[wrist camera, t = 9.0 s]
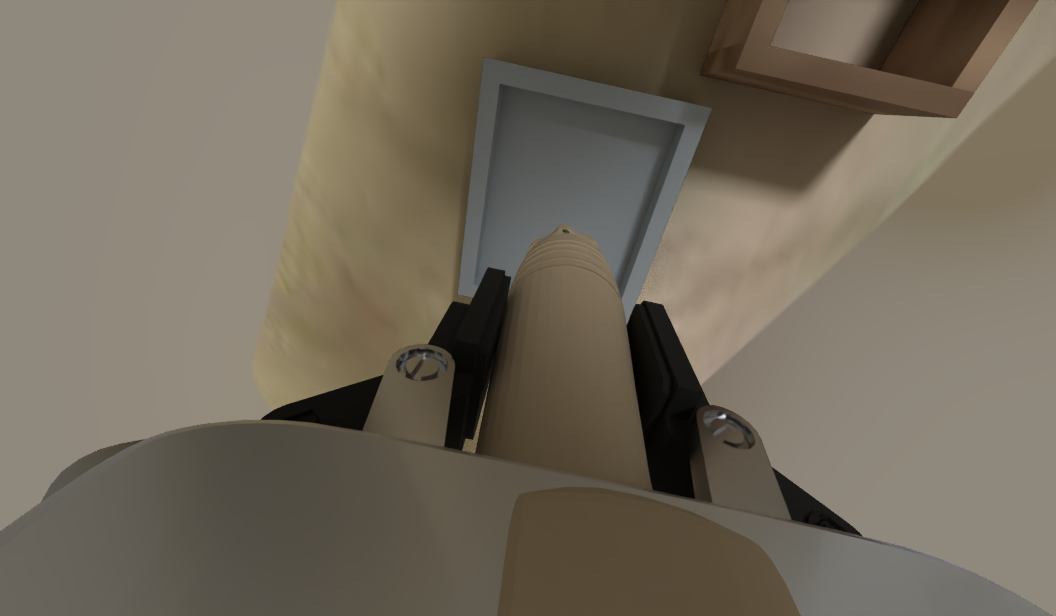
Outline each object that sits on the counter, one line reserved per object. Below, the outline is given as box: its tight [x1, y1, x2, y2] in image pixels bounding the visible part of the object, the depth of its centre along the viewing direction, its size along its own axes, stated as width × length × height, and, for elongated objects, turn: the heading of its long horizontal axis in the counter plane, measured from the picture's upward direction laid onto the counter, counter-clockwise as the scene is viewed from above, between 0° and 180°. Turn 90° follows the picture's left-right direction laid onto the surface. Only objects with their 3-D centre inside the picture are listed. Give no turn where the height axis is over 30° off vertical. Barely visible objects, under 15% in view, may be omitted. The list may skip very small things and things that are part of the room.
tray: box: [458, 57, 712, 325], centre depth 24 cm, size 14×12×2 cm
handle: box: [475, 224, 801, 616], centre depth 10 cm, size 5×6×15 cm
